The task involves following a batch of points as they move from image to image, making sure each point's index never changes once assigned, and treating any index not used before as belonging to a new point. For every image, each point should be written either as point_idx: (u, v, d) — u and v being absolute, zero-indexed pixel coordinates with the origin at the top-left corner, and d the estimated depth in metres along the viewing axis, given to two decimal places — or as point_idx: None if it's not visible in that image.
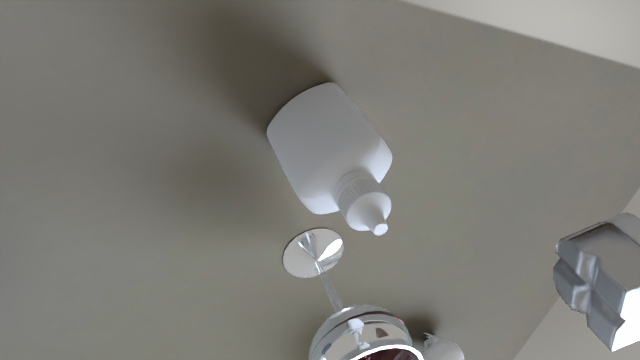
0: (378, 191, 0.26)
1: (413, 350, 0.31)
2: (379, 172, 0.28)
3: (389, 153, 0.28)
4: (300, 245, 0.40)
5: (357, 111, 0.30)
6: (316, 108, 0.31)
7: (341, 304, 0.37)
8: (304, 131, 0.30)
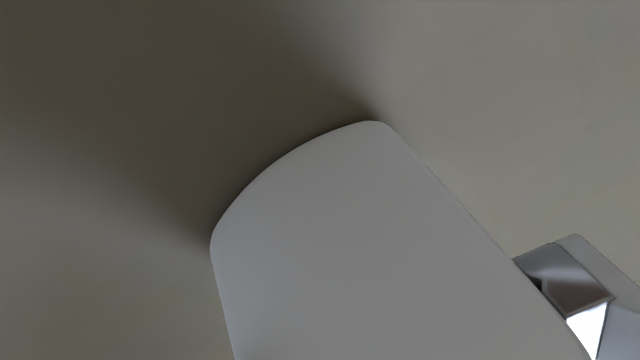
0: None
1: None
2: None
3: None
4: None
5: (469, 222, 0.10)
6: (338, 201, 0.11)
7: None
8: (305, 281, 0.10)
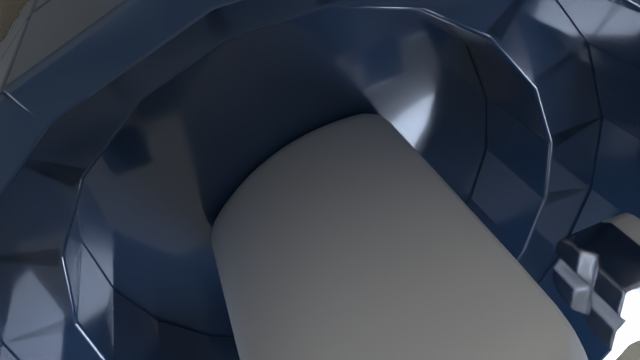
0: None
1: None
2: None
3: None
4: None
5: (461, 208, 0.10)
6: (336, 190, 0.11)
7: None
8: (303, 266, 0.10)
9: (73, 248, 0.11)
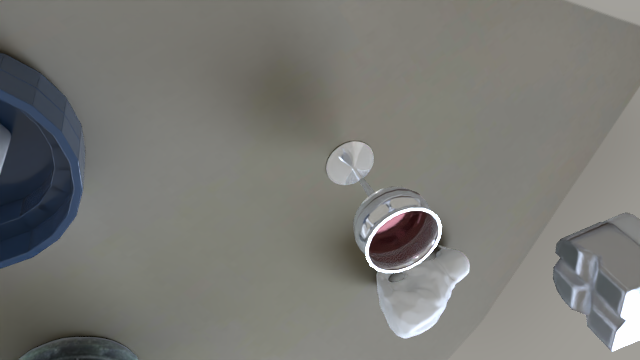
0: None
1: (434, 215, 0.42)
2: None
3: None
4: (341, 154, 0.50)
5: None
6: None
7: None
8: None
9: None
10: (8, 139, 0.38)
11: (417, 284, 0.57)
